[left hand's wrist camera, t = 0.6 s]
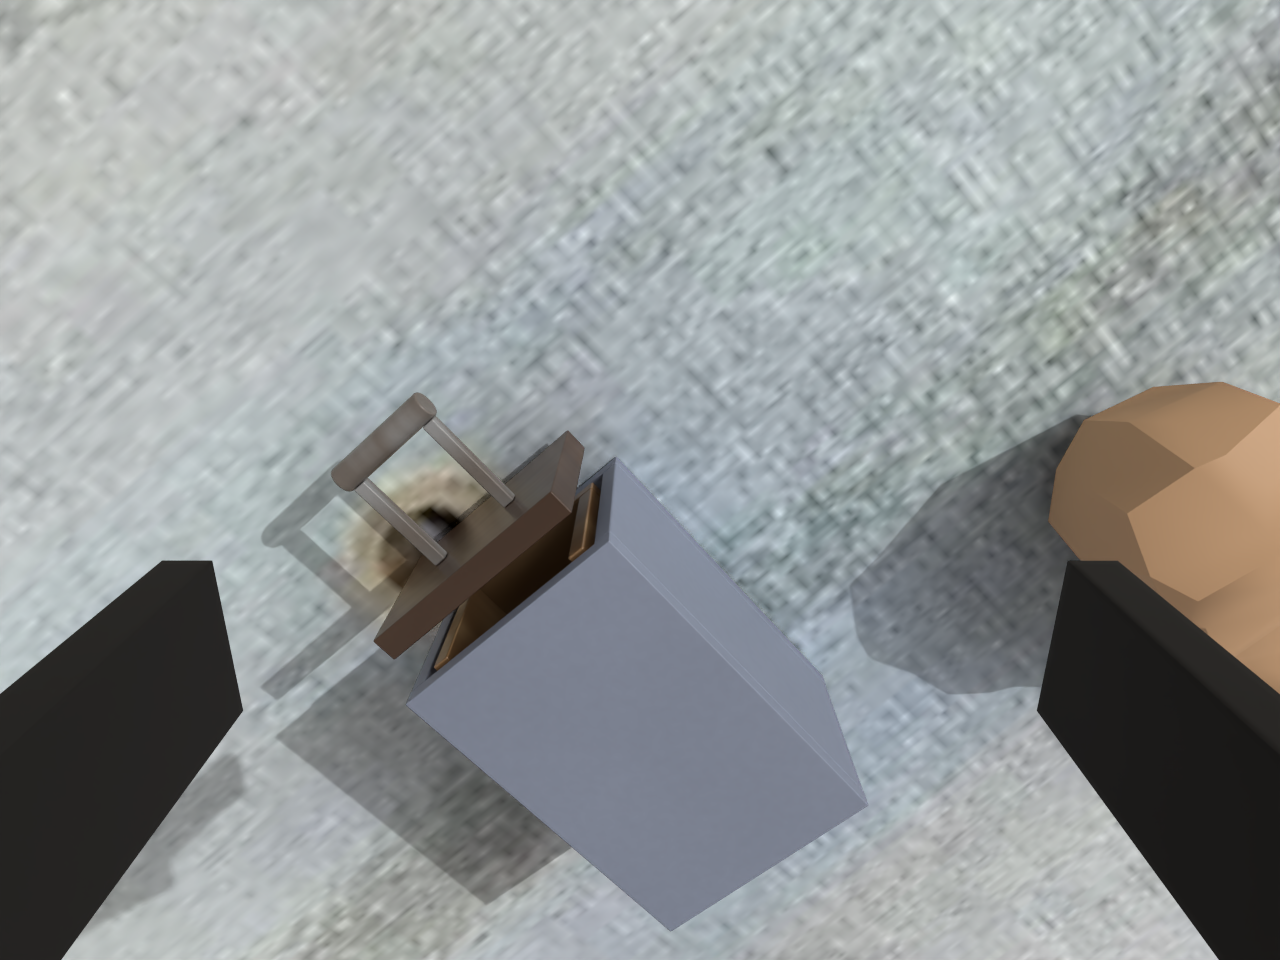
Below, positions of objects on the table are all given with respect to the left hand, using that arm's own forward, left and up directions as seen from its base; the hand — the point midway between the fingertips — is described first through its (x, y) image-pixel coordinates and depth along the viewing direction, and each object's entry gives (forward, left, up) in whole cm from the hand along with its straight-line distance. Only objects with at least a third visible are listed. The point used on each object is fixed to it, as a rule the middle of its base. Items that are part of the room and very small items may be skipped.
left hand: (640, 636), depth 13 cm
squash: (-8, -28, -27) cm, 39 cm away
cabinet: (-16, -1, -27) cm, 31 cm away
